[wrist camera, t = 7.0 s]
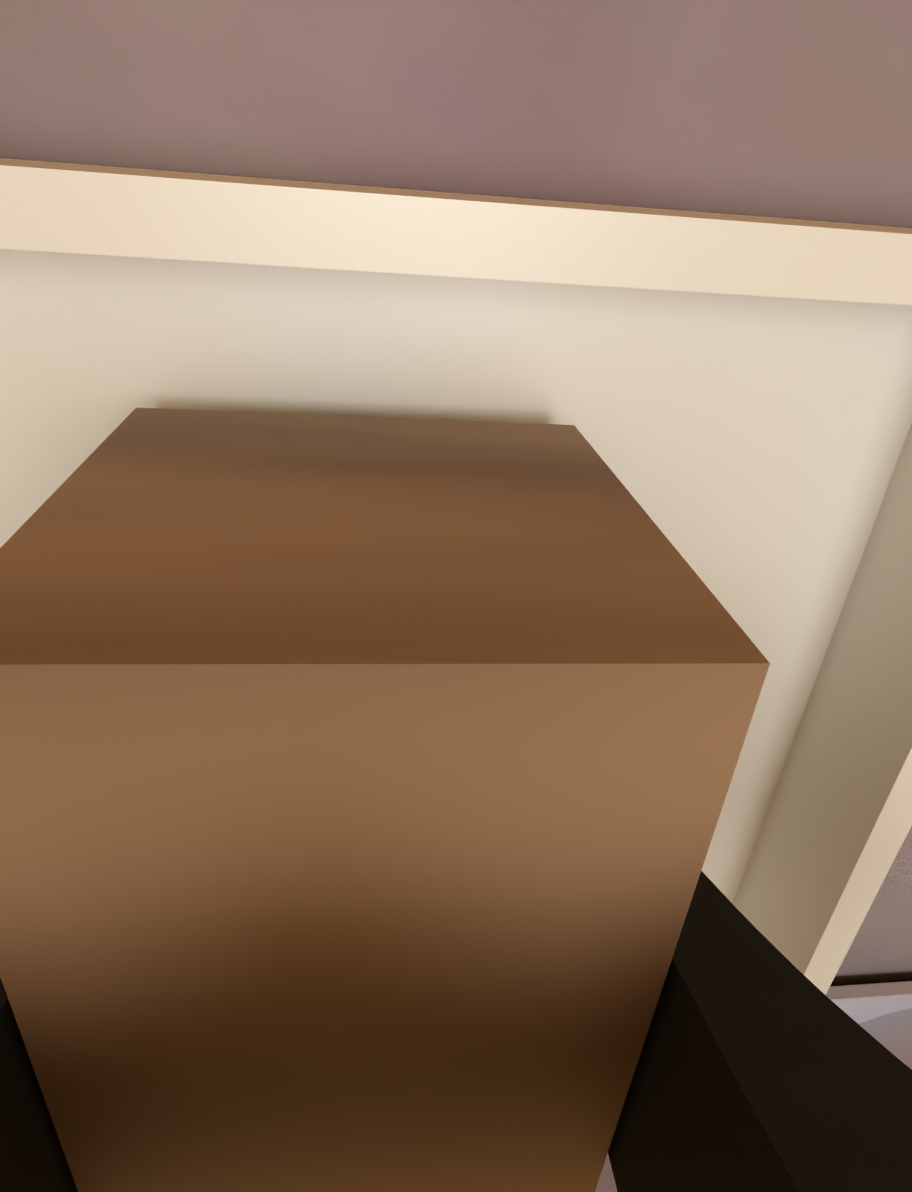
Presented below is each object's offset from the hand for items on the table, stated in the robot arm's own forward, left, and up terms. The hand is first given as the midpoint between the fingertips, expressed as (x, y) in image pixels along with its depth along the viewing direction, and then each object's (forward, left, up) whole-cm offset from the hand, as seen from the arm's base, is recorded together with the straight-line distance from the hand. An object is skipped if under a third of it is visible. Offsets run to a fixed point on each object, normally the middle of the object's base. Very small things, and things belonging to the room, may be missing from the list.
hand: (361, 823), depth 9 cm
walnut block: (0, 0, -2) cm, 2 cm away
